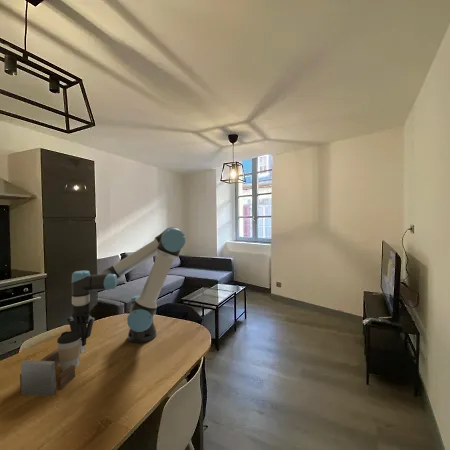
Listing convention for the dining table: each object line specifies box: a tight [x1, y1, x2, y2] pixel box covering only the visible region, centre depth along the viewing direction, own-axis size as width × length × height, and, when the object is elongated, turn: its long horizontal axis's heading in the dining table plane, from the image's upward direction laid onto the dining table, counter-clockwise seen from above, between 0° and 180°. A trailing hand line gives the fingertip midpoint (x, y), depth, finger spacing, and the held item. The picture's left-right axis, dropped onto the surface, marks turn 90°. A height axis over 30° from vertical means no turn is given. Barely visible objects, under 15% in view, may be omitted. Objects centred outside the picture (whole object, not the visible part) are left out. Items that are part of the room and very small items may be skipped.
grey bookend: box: [20, 359, 57, 397], centre depth 95 cm, size 12×2×12 cm, turn 85°
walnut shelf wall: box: [19, 348, 76, 391], centre depth 106 cm, size 16×19×6 cm
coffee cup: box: [57, 330, 81, 372], centre depth 112 cm, size 9×9×15 cm
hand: (81, 352), depth 121 cm, fingers closed
